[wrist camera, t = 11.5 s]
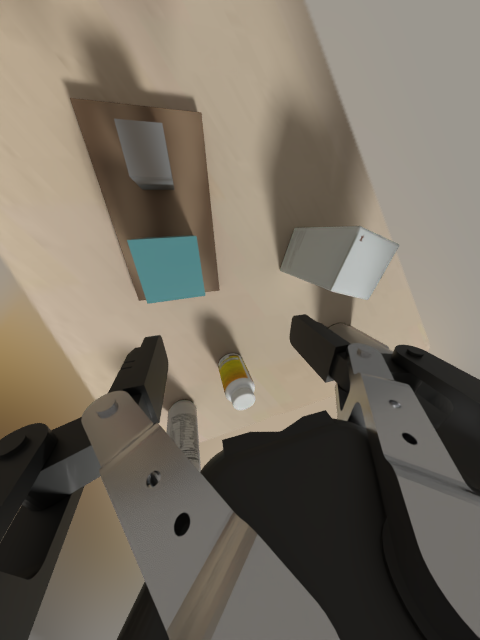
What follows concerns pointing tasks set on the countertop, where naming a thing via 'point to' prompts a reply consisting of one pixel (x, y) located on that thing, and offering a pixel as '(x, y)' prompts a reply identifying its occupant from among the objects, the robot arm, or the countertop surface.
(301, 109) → the countertop surface
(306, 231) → the supplement box
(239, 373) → the supplement bottle
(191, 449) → the energy drink can
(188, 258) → the teal block
